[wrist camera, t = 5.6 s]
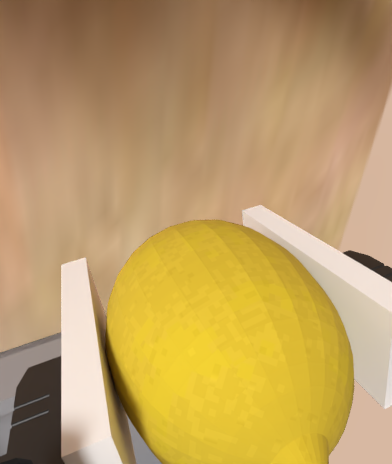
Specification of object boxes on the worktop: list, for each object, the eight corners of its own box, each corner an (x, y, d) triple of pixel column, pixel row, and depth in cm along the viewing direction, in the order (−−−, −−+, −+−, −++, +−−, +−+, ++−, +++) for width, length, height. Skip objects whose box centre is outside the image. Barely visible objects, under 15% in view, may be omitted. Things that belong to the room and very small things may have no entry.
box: (21, 545, 31) (14, 612, 27) (-98, 386, 22) (-133, 450, 18) (228, 448, 35) (248, 494, 31) (196, 286, 27) (219, 320, 23)
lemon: (91, 188, 11) (150, 381, 4) (252, 188, 13) (492, 315, 6) (93, 339, 13) (135, 651, 6) (232, 319, 14) (393, 534, 8)
